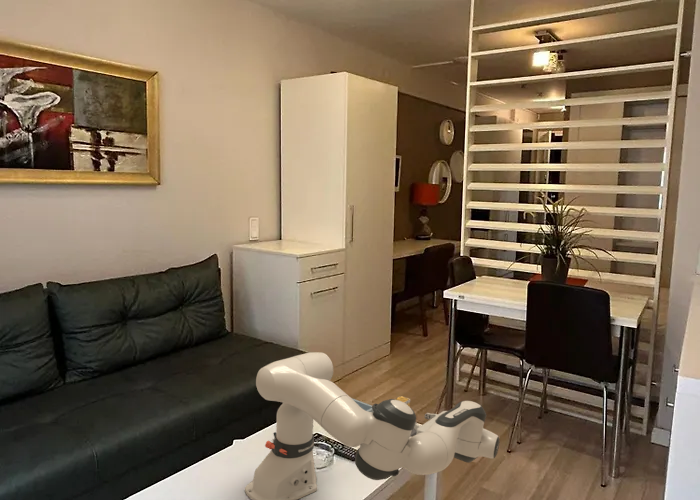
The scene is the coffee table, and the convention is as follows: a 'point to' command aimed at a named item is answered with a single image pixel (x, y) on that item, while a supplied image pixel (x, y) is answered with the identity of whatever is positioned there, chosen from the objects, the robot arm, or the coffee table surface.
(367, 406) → the parts tray
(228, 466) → the coffee table surface
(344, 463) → the coffee table surface
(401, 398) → the block
